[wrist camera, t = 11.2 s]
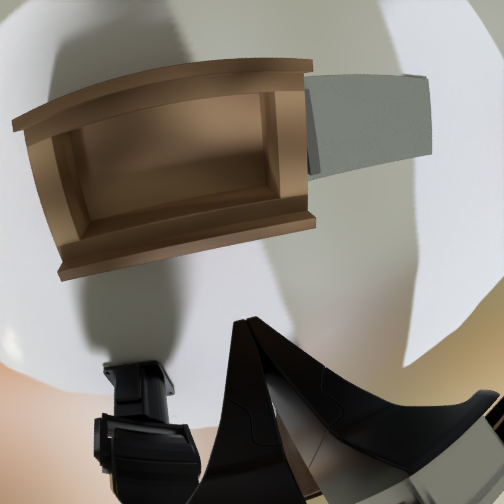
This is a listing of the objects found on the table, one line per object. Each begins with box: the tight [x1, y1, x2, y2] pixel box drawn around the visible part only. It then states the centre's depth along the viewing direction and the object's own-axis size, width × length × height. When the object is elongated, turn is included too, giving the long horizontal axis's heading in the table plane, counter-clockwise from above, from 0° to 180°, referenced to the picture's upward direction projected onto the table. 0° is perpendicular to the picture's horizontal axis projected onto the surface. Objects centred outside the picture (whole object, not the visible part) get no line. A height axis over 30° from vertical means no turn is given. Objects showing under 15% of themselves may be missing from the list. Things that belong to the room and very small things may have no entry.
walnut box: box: [12, 58, 316, 282], centre depth 14 cm, size 10×16×5 cm, turn 95°
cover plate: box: [304, 75, 432, 181], centre depth 18 cm, size 8×15×2 cm, turn 102°
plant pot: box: [276, 411, 323, 501], centre depth 32 cm, size 15×15×16 cm
